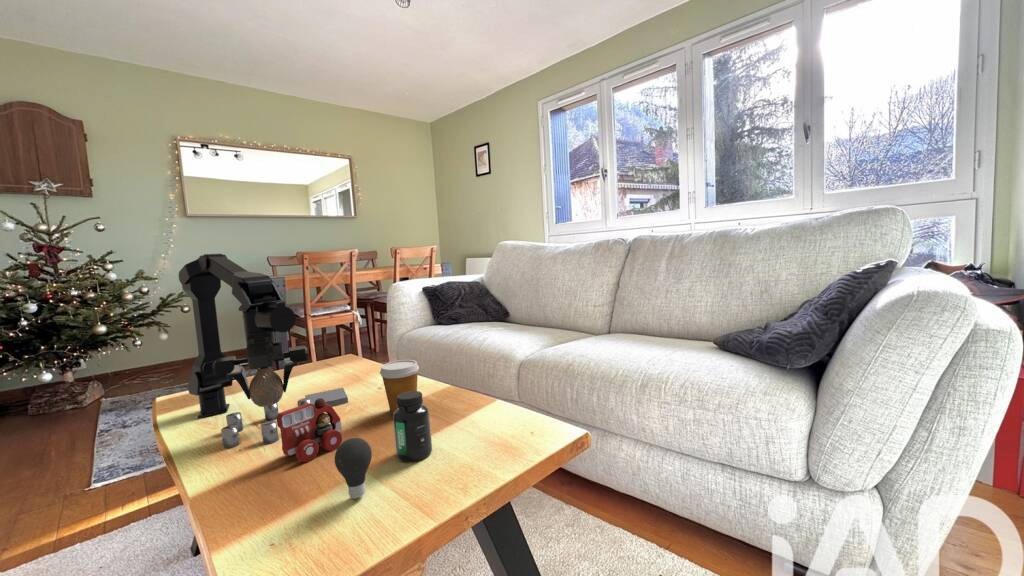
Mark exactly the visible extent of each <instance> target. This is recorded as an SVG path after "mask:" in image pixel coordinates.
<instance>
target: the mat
mask: <svg viewBox="0 0 1024 576" xmlns="http://www.w3.org/2000/svg"><path fill="white" fill-rule="evenodd" d="M304 398H311V404H314V403H315V401H316V400H317V399H318V398H322V399H324V400H325V404H328V405H331V406H332V407H334V406H339V405H343V404H348V403H349V398H348V395H347V393H346V391H345V389H344V387H340V388H335V389H330V390H325V391H320V392H315V393H314V392H313V393H310V394H305V395H304ZM314 405H315V404H314Z"/></svg>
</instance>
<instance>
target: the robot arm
mask: <svg viewBox="0 0 1024 576" xmlns="http://www.w3.org/2000/svg"><path fill="white" fill-rule="evenodd" d="M178 280H179V283H180V284H181V289H182V291H183V292H184V293H185V294H186V295H187V296H188V297H189V298H190V299H191V302H192V309H193V319H194V325H195V333H196V335H195V336H196V341H197V343H196V344H197V351H198V354H197V356H196V358H195V360H194V362H193V363H192V373H191V375H190V378H189V380H188V382H187V386H186V387H187V391H188V393H189V394H190V395H193V396H198V403H199V412H198V414H197V415H196V417H197V419H199V418H204V417H209V416H214V415H219V414H225V413H227V412H228V410H229V409H230V403H227V400H226V392H225V388H227V387H232V386H233V379H234V380H236V382H237V383H238V384H239V386H240V387H241V389H242V391H243V392H244V394H245V396H246V398H247V400H251V398H250V393H249V387H250V384H249V382H248V378H247V375H246V374H247V373H246V369H245V367H248V369H249V370H253V371H254V370H258V368H261V367H270V368H271V367H273V366H274V365H275V362H280V361H283V379H282V382H283V389H284V390H283V393H286V391H287V388H288V383H289V379H290V376H291V373H292V371H293V368H294V367H297V366H298V365H299V363H300V362H307V361H309V351H308V347H307V346H305V345H297V346H294V347H293V346H291V347H288V351H284V350H283V343H282V342H281V341H279V342H276V338H275V333H286V332H289V331H291V330H292V329H293V328H294V326H295V324H296V321H297V317H296V314H295V312H294V311H293V309H291V307H288V306H286V302H285V299H284V298H283V294H282V293H281V292H280V290H279V288H277V285H276V283H275V281H273V279H272V278H271V277H270V276H269V275H268V274H264V273H260V272H254V271H250V270H249V271H248V270H247V269H245V268H243V267H242V266H241V265H239V264H237V263H236V262H234V261H232V260H231V259H229V258H228V257H227V255H226V254H223V253H204V254H202V255H200V256H199V257H198V258H197V259H195V260H193V261H190V262H188V263H186V264H184V266H182V268H181V269H180V270H179V271H178ZM222 282H224V283H225V284H227V285H228V286H229V287H230V288H231V295H232V296H233V297H234V298H236V300H237V301H238V302H239V303H240V304H241V305H240V306H239V307H238V311H239V312H242V313H241V314H242V319H243V327H244V336H245V343H246V344H245V345H246V349H245V356H246V357H244V358H236V355H232V356H231V355H230V356H226V354H224V353H223V352H222V349H221V340H220V331H219V323H218V313H217V306H216V304H217V303H216V297H217V295H218V293H219V292H220V290H221V288H222Z"/></svg>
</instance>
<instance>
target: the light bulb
mask: <svg viewBox="0 0 1024 576" xmlns="http://www.w3.org/2000/svg"><path fill="white" fill-rule="evenodd" d="M372 453H373V452H372V447H371V446H370V444H369V443H368V442H367V441H366V440H365V439H364V438H359V437H351V438H347V439H345V440H344V441H342V442H341V444H340V446H339V447H338V448H337V449H336V451H335V453H334V464H335V467H336V469H337V471H338V472H339V474H340V475H341V477H343V478H344V479H345V480H344V481H345V484H346V485H347V488H348V495H349V497H350V498H351V499H354V500H356V501H357V500H360V499H361V497H363V496H364V494H365V493H366V485H365V482H366V476H367V472H368V469H369V467H370V464H371V462H372V455H373V454H372Z"/></svg>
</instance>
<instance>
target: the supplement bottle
mask: <svg viewBox="0 0 1024 576" xmlns="http://www.w3.org/2000/svg"><path fill="white" fill-rule="evenodd" d="M397 407H398V409H397V410H396V411H395V412H394V414H393V415H392V421H393V432H394V442H395V444H394V445H395V452H396V458H397V459H398V460H399V461H401V462H404V463H416V462H419V461H422V460H423V461H424V460H425V459H426V458H428V456H430V455H431V454H432V452H433V444H432V443H433V442H432V433H431V431H432V430H431V422H430V421H431V420H430V411H429V408H428V407H427V406H426V405H425V404H424V399H423V393H422V392H421V391H418V390H417V391H409V392H404V393H401V394H399V395H398V396H397Z"/></svg>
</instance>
